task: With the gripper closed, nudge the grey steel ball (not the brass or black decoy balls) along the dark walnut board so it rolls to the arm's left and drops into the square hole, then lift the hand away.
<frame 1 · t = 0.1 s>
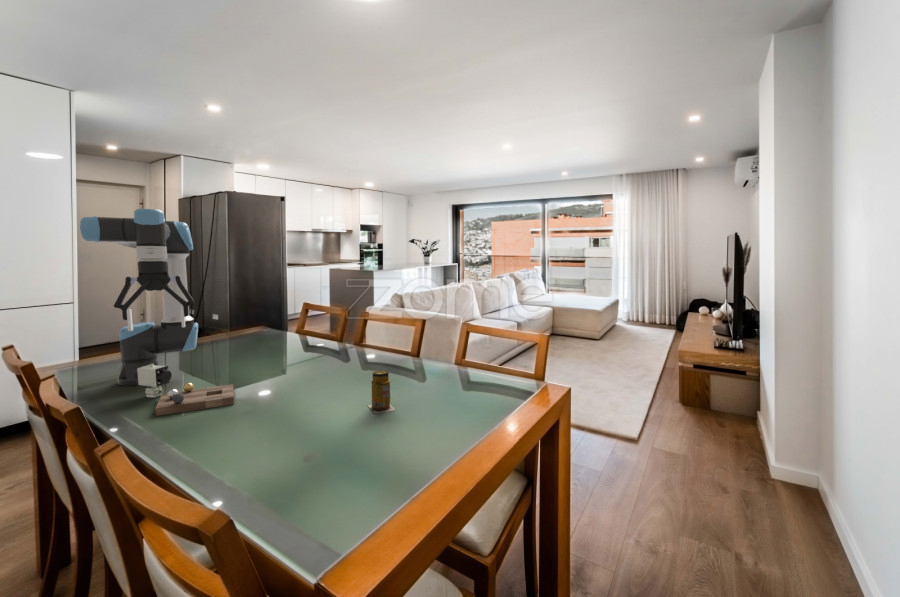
hand: (157, 328, 128), 28 cm above the table, fingers open, 13 cm apart
board: (198, 402, 142), on the table
pneumatic valve: (155, 396, 149), on the table
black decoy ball: (178, 398, 134), point 4 cm above the table, touching board
steel ball: (173, 393, 139), point 4 cm above the table, touching board
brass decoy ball: (188, 387, 146), point 4 cm above the table, touching board
condiment: (381, 408, 136), on the table
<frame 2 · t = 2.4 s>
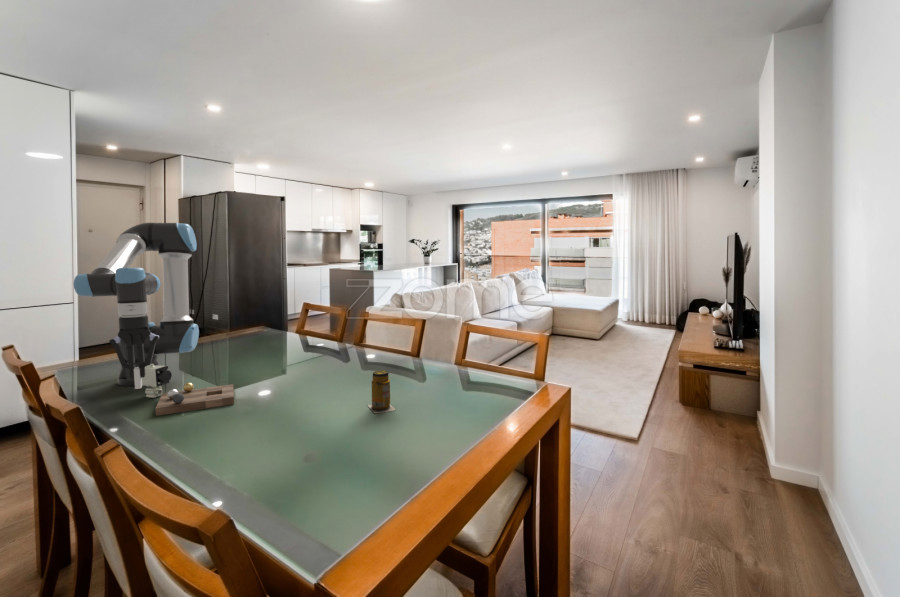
hand: (138, 387, 134), 8 cm above the table, fingers closed
nothing on the table moved.
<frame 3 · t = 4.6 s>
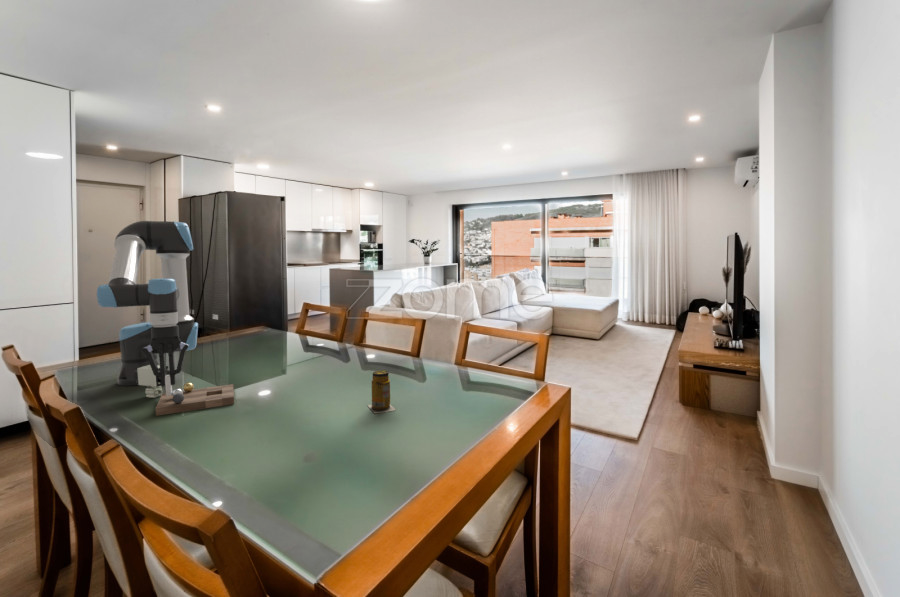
hand: (169, 394, 138), 4 cm above the table, fingers closed
steel ball: (177, 393, 139), point 4 cm above the table, tilted 43°, touching board, gripper
everything else where it was.
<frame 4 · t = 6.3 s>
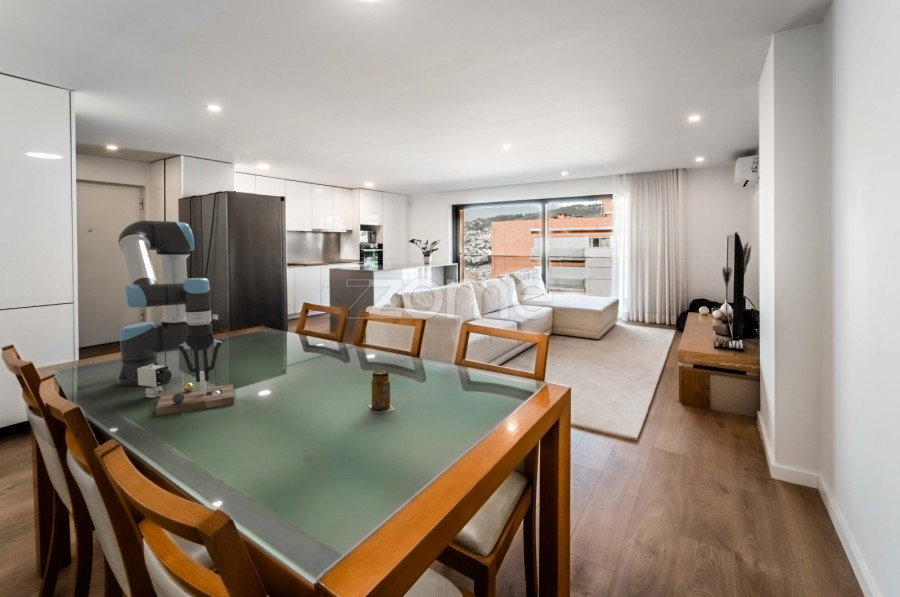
hand: (203, 390, 143), 4 cm above the table, fingers closed
steel ball: (216, 395, 145), point 2 cm above the table, tilted 77°
everything else where it was.
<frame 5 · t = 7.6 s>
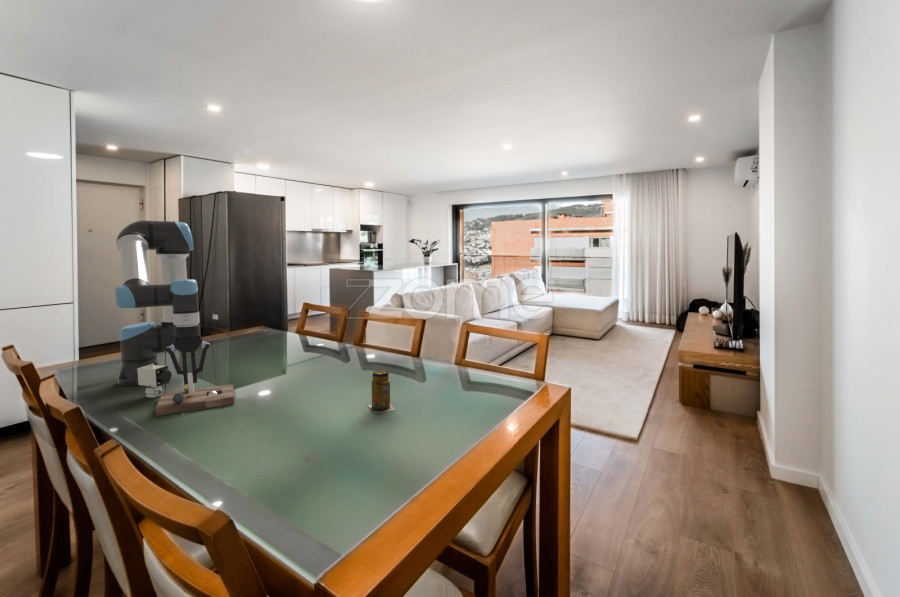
hand: (191, 392, 141), 4 cm above the table, fingers closed
steel ball: (212, 395, 144), point 2 cm above the table, tilted 39°
everything else where it was.
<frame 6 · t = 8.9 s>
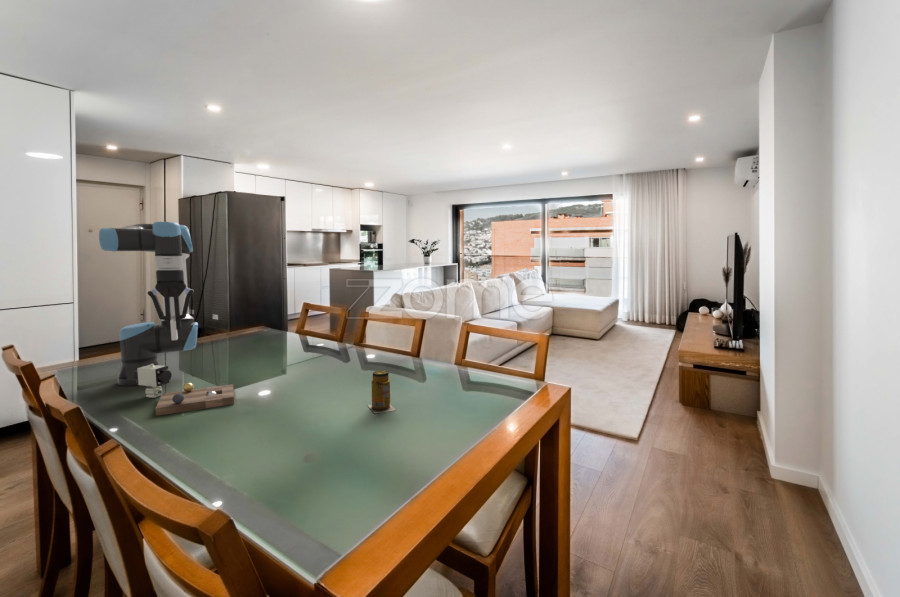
hand: (174, 339, 138), 23 cm above the table, fingers closed
steel ball: (212, 395, 144), point 2 cm above the table, tilted 29°
everything else where it was.
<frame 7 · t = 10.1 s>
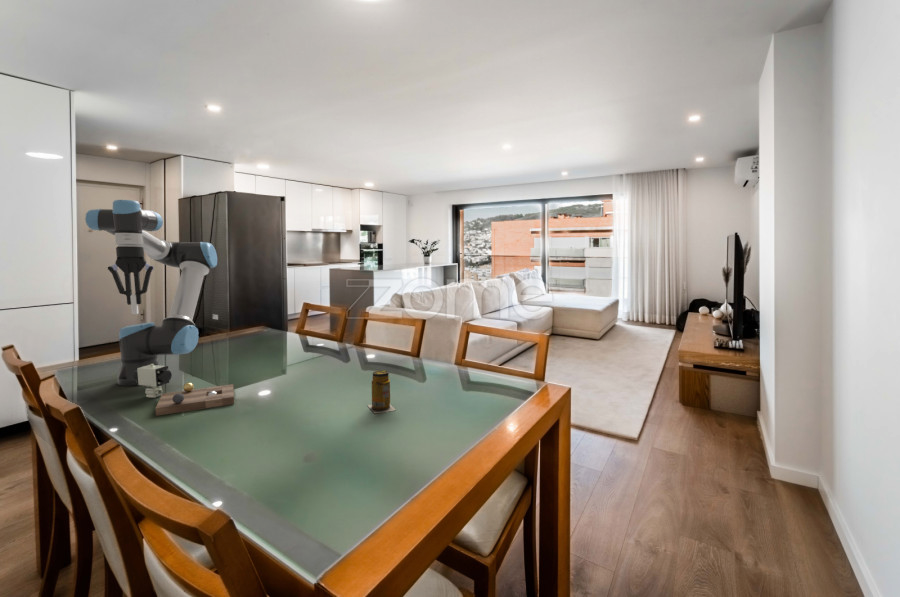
hand: (135, 313, 144), 30 cm above the table, fingers closed
nothing on the table moved.
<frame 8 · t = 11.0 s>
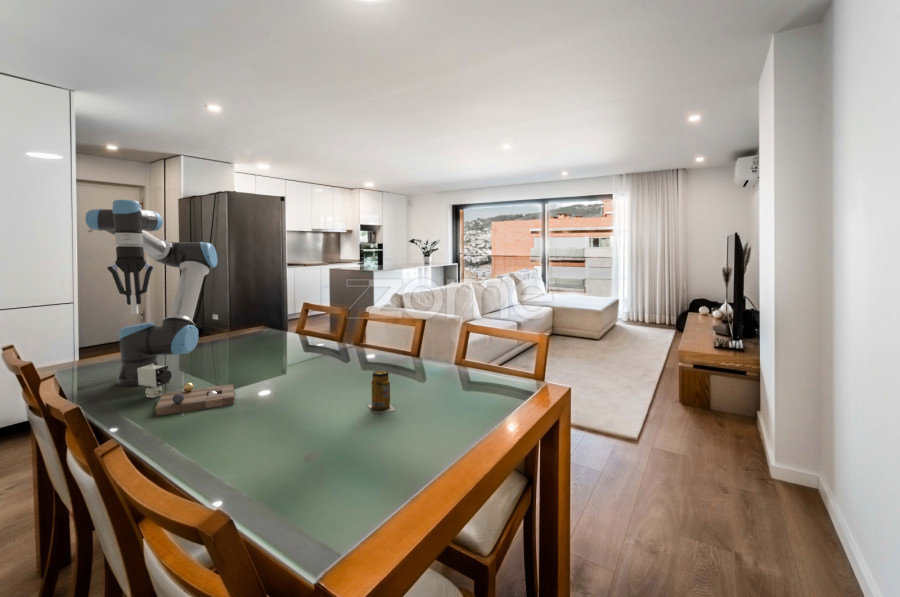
hand: (135, 313, 144), 30 cm above the table, fingers closed
nothing on the table moved.
at the end: steel ball 0.5 cm from the target spot in the board, point 1.6 cm above the board's base; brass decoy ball moved 0.1 cm from its start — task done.
